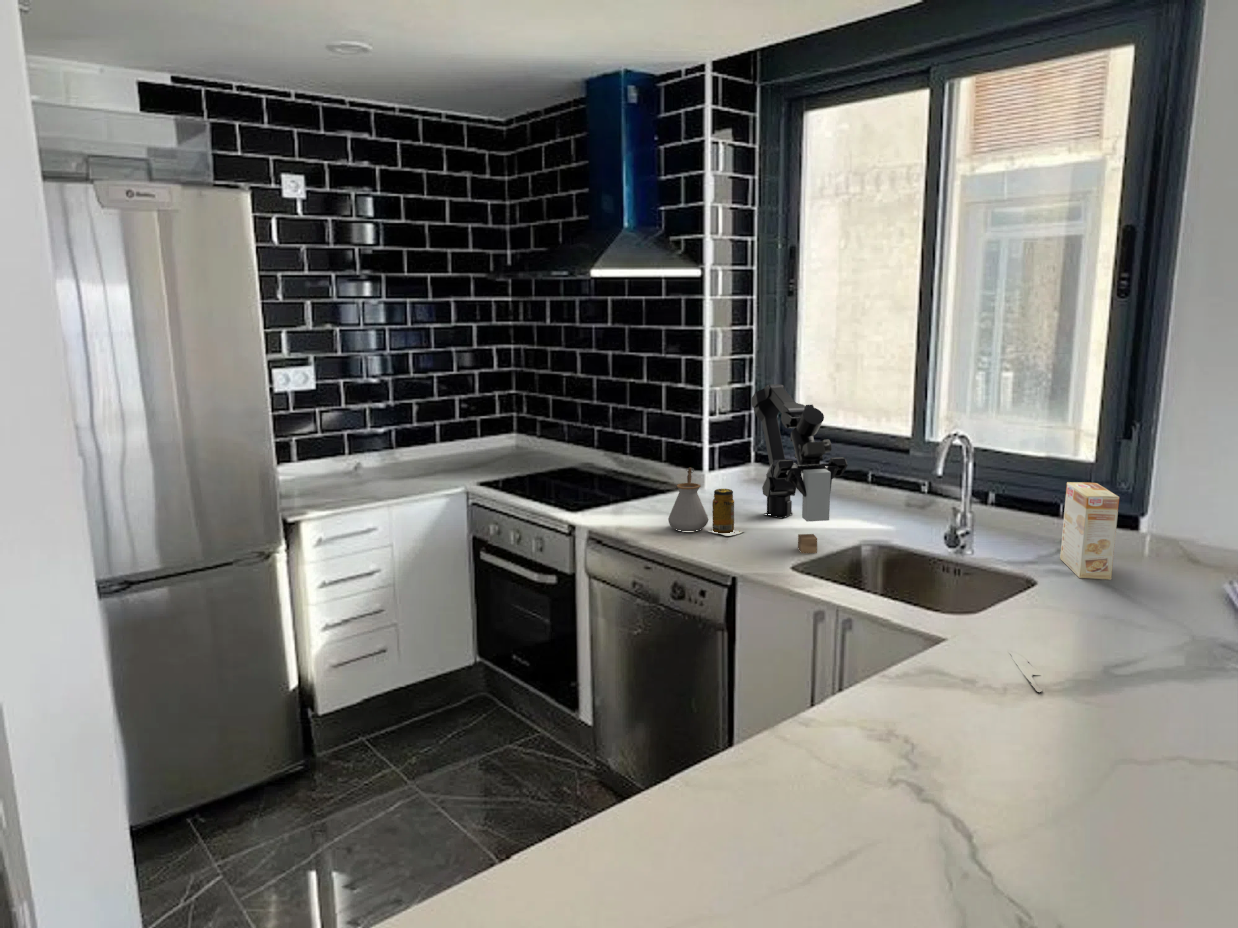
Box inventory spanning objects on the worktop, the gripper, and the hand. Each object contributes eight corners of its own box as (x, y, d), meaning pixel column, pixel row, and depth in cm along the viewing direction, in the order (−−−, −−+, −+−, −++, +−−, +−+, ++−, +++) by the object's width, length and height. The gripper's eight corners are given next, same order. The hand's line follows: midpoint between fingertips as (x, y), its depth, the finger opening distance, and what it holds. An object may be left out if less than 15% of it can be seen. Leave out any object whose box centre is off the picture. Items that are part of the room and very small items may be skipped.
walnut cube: (797, 548, 221) (797, 534, 220) (812, 548, 221) (813, 533, 220) (801, 553, 217) (801, 538, 216) (816, 553, 217) (817, 538, 216)
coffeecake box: (1112, 580, 192) (1120, 496, 189) (1078, 578, 194) (1085, 495, 190) (1090, 559, 207) (1097, 482, 203) (1058, 558, 208) (1065, 481, 204)
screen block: (802, 517, 226) (803, 469, 223) (823, 516, 226) (825, 468, 224) (807, 521, 222) (808, 473, 219) (829, 520, 223) (830, 472, 220)
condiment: (723, 527, 243) (723, 486, 241) (745, 532, 237) (745, 491, 234) (705, 532, 238) (705, 490, 236) (727, 538, 232) (727, 495, 230)
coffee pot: (708, 535, 235) (708, 482, 232) (666, 534, 237) (666, 482, 234) (709, 515, 256) (709, 466, 253) (671, 514, 257) (671, 466, 255)
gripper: (777, 430, 223) (790, 480, 214) (846, 427, 225) (861, 477, 216) (768, 453, 232) (780, 503, 224) (834, 451, 234) (848, 499, 226)
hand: (817, 495), depth 222 cm, fingers closed on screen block, 6 cm apart
